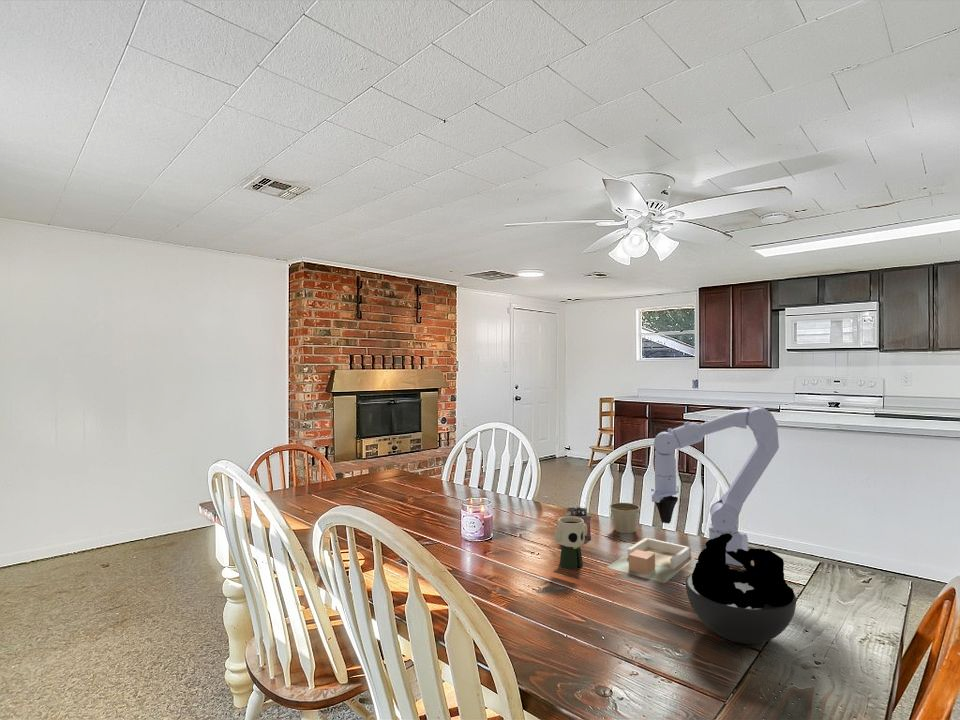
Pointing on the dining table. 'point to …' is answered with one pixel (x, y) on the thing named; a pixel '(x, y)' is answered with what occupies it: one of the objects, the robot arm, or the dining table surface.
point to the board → (661, 566)
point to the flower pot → (624, 517)
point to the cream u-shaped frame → (679, 550)
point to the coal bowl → (741, 593)
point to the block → (642, 562)
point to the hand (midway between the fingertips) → (666, 522)
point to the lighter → (580, 514)
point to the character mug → (570, 541)
